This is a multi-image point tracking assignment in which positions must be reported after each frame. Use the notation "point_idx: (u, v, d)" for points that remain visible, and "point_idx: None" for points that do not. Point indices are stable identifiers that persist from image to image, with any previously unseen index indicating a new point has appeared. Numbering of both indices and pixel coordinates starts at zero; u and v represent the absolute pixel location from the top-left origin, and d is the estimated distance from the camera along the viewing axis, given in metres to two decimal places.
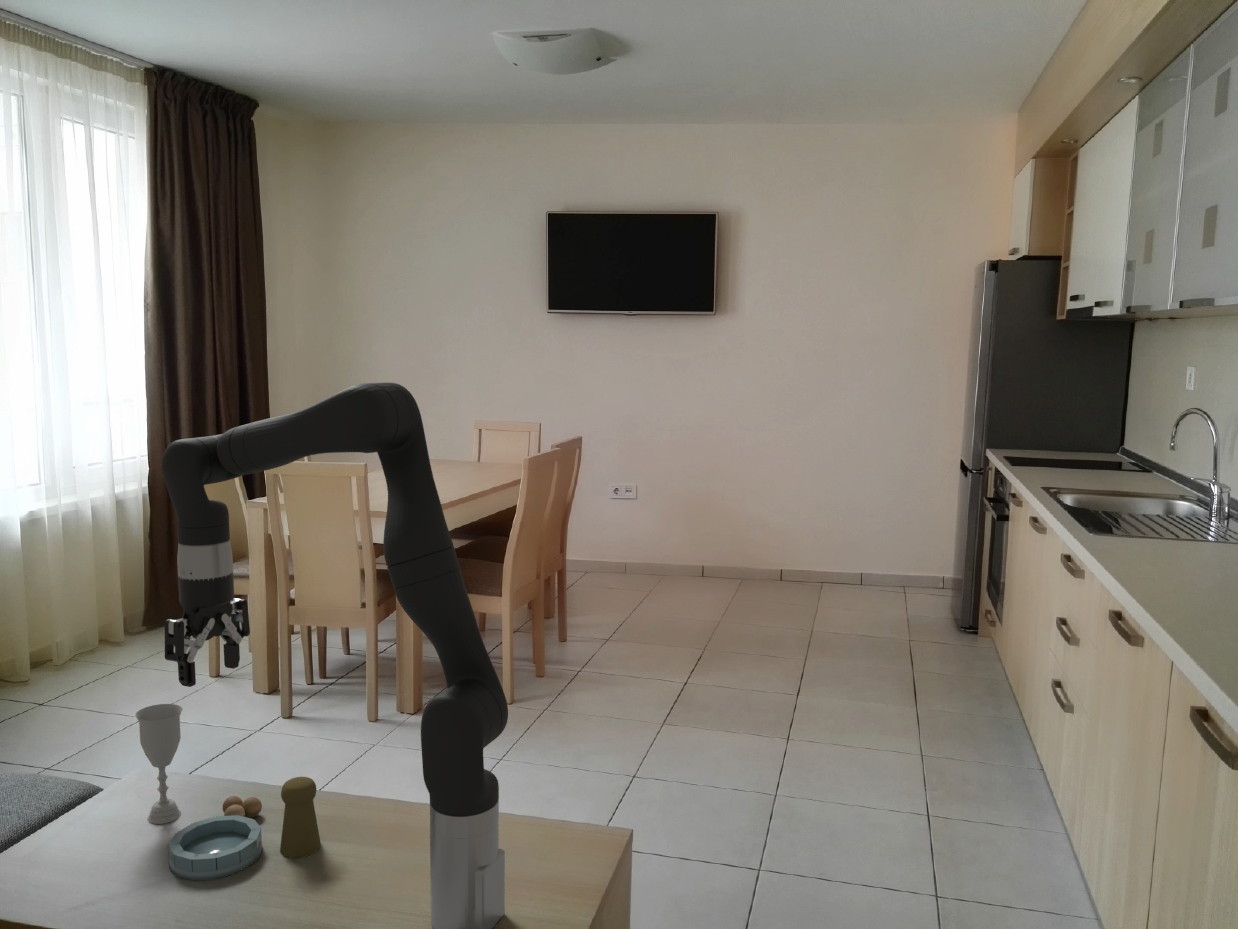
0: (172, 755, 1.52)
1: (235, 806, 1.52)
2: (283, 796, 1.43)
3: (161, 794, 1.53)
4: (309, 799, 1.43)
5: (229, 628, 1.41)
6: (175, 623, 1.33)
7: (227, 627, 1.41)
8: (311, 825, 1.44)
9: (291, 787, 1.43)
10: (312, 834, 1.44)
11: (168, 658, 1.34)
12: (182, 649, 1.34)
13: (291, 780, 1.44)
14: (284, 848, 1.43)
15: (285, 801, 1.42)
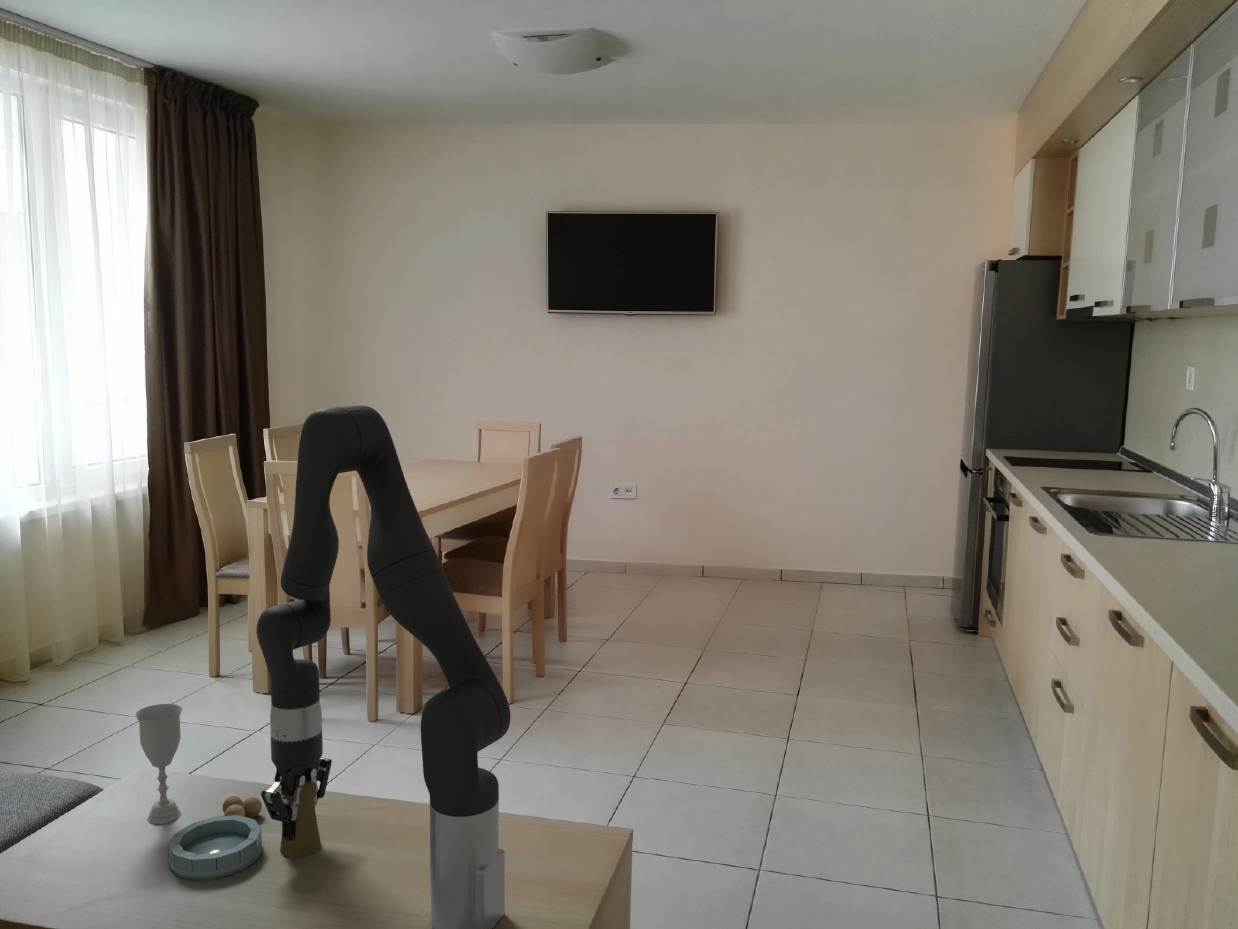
0: (172, 755, 1.52)
1: (235, 806, 1.52)
2: (283, 796, 1.43)
3: (161, 794, 1.53)
4: (309, 799, 1.43)
5: None
6: (271, 796, 1.38)
7: None
8: (311, 824, 1.44)
9: None
10: (312, 834, 1.44)
11: (274, 818, 1.40)
12: (285, 811, 1.40)
13: None
14: (284, 848, 1.43)
15: None
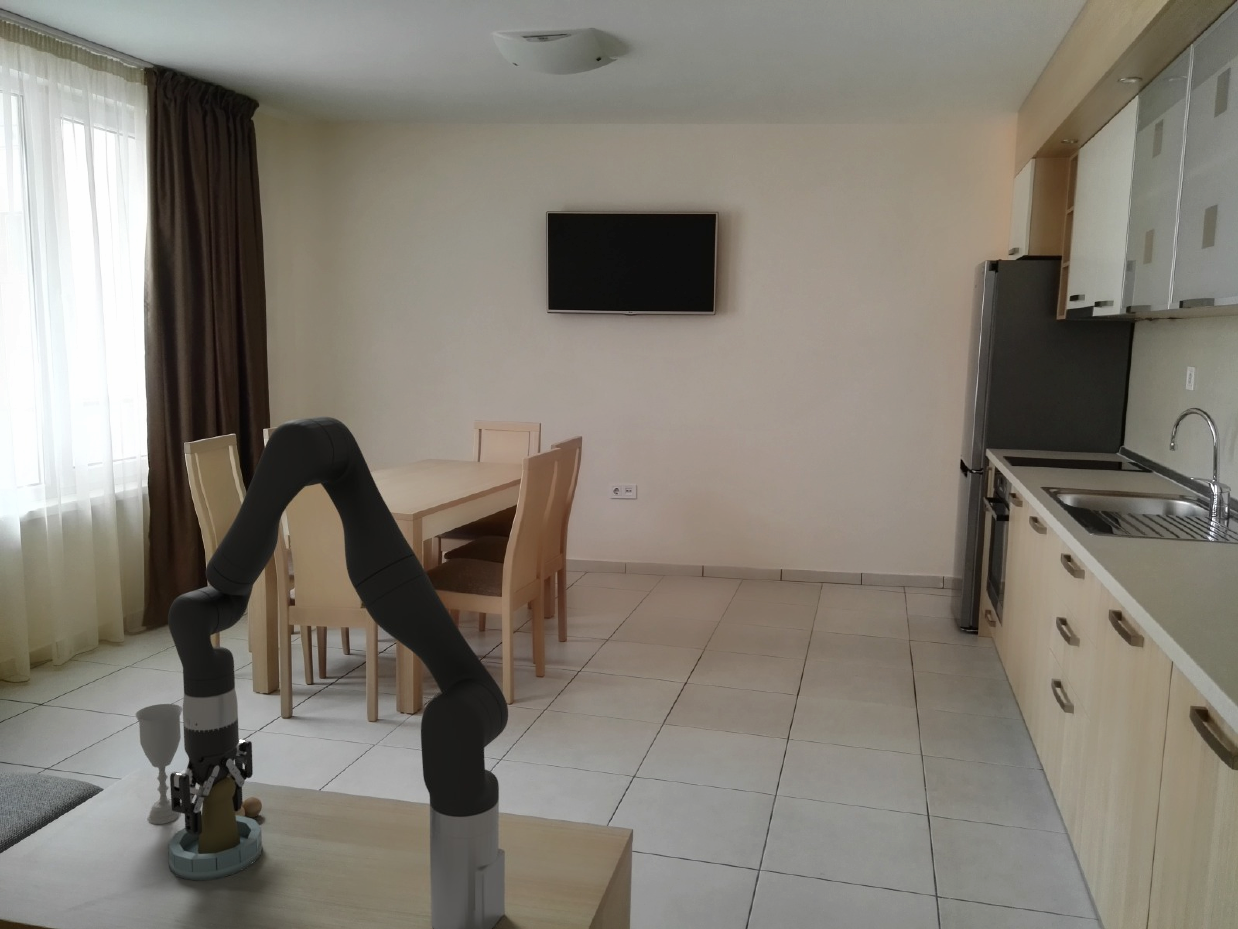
0: (172, 755, 1.52)
1: None
2: None
3: (161, 794, 1.53)
4: (226, 798, 1.41)
5: (233, 772, 1.43)
6: (180, 777, 1.34)
7: (231, 771, 1.42)
8: (229, 824, 1.41)
9: None
10: (230, 834, 1.42)
11: (175, 810, 1.35)
12: (188, 801, 1.35)
13: None
14: (201, 847, 1.41)
15: None
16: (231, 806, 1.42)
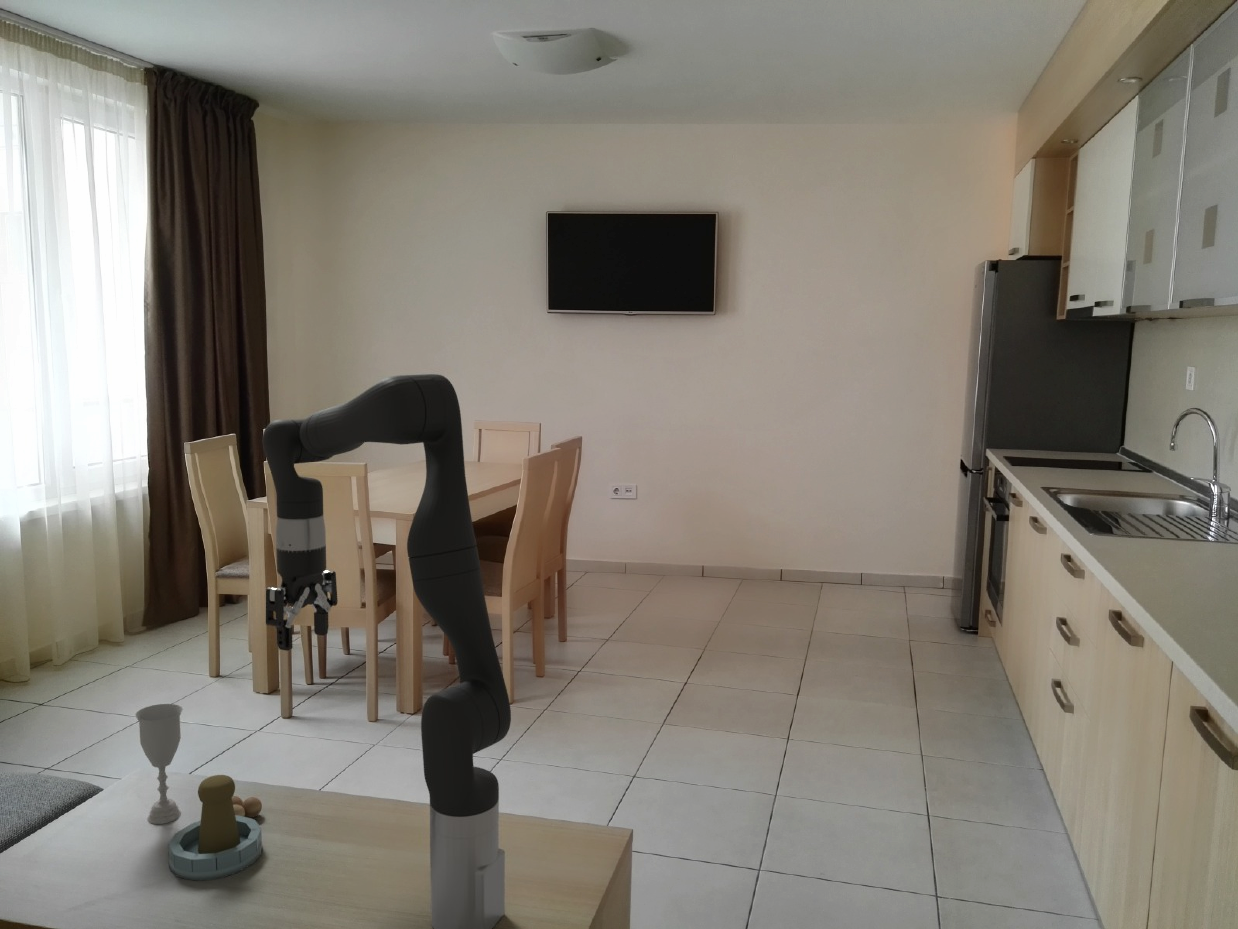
0: (172, 755, 1.52)
1: (235, 806, 1.52)
2: (199, 795, 1.40)
3: (161, 794, 1.53)
4: (225, 798, 1.41)
5: (321, 597, 1.52)
6: (276, 591, 1.43)
7: (319, 596, 1.51)
8: (229, 824, 1.41)
9: (207, 785, 1.40)
10: (230, 833, 1.42)
11: (269, 623, 1.44)
12: (282, 615, 1.44)
13: (209, 778, 1.42)
14: (201, 847, 1.41)
15: (201, 800, 1.40)
16: (231, 806, 1.42)
